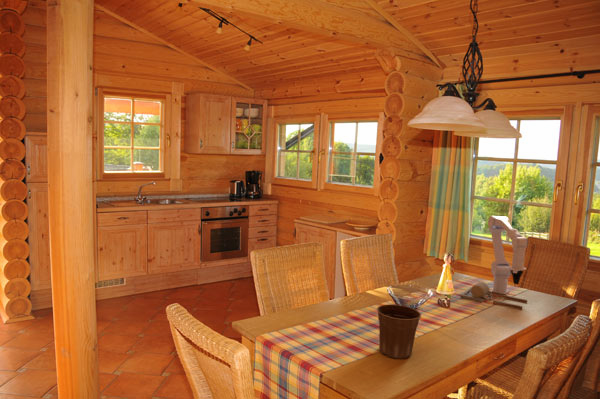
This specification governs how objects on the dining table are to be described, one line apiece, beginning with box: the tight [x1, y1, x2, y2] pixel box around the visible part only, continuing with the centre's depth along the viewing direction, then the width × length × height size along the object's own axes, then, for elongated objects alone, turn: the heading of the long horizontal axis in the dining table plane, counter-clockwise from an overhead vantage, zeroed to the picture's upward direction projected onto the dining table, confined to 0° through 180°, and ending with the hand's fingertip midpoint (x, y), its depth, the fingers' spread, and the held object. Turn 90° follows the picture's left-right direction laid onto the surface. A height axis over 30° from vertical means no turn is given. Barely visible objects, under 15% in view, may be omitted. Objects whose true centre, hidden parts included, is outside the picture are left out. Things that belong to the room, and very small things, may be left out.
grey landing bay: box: [460, 286, 493, 303], centre depth 247 cm, size 20×12×2 cm, turn 144°
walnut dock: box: [492, 293, 528, 310], centre depth 237 cm, size 15×14×2 cm
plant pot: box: [376, 303, 422, 360], centre depth 170 cm, size 16×16×16 cm
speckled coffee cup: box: [470, 281, 493, 301], centre depth 244 cm, size 11×8×8 cm
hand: (516, 283), depth 240 cm, fingers closed
